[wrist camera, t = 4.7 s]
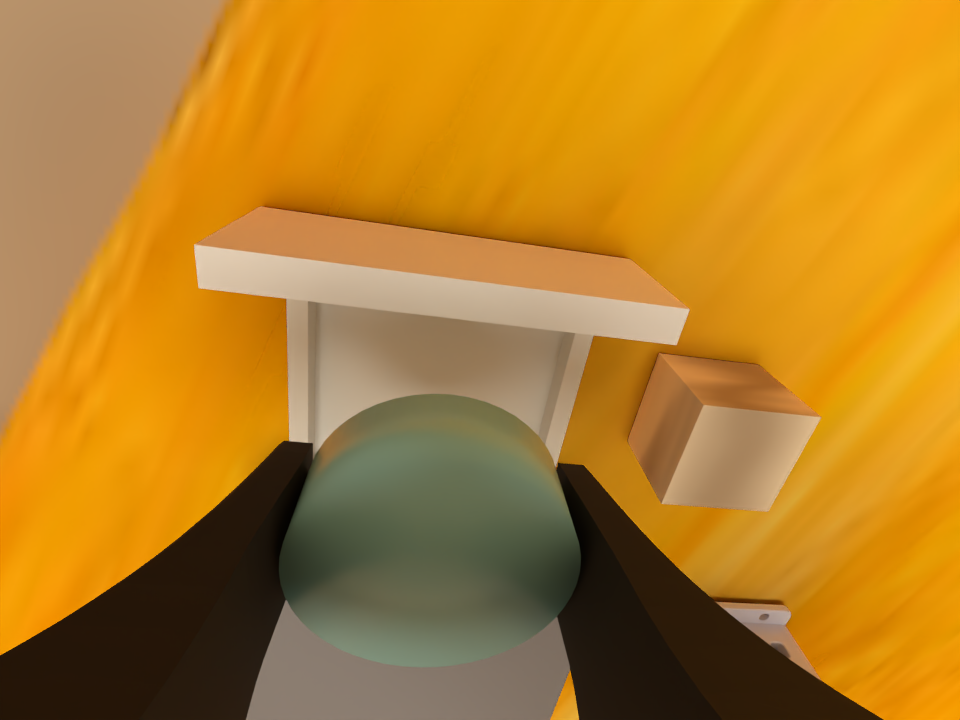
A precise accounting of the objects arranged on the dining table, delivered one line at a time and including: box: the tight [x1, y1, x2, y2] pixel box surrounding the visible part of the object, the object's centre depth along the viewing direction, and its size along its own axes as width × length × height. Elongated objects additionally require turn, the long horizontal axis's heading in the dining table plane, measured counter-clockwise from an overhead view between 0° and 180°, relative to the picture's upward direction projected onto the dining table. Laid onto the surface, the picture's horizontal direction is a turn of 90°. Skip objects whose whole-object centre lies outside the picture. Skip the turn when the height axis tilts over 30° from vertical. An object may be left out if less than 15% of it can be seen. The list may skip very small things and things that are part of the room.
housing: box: [246, 600, 570, 720], centre depth 20 cm, size 12×9×5 cm
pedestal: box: [628, 353, 821, 512], centre depth 18 cm, size 4×4×4 cm
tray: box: [194, 206, 690, 468], centre depth 15 cm, size 12×9×4 cm
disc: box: [279, 394, 581, 667], centre depth 10 cm, size 6×6×2 cm
